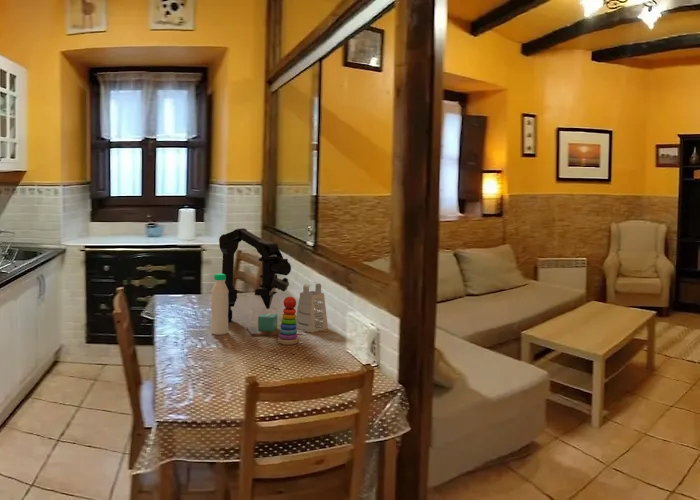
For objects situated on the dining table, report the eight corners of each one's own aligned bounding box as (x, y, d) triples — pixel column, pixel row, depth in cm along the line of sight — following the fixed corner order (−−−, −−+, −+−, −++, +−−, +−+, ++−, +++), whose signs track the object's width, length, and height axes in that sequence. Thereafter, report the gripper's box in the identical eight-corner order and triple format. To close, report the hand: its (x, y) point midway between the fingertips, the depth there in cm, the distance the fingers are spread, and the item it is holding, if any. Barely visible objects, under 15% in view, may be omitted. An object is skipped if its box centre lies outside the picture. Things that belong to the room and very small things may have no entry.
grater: (328, 328, 275) (329, 283, 272) (310, 332, 267) (311, 286, 265) (311, 324, 282) (312, 280, 279) (294, 327, 274) (295, 283, 272)
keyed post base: (251, 336, 257) (251, 324, 257) (246, 329, 268) (246, 317, 268) (289, 334, 263) (289, 322, 262) (282, 327, 274) (282, 316, 273)
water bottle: (231, 332, 262) (232, 273, 259) (221, 336, 256) (221, 276, 253) (217, 330, 265) (218, 272, 262) (207, 333, 259) (207, 274, 256)
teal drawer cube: (272, 331, 262) (273, 317, 261) (258, 330, 263) (258, 315, 262) (277, 328, 268) (277, 313, 267) (262, 327, 269) (263, 312, 269)
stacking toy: (282, 346, 244) (283, 299, 242) (275, 341, 251) (275, 295, 249) (300, 344, 248) (302, 297, 246) (293, 339, 255) (294, 294, 253)
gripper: (280, 277, 252) (280, 314, 254) (293, 270, 270) (292, 305, 272) (254, 275, 254) (254, 312, 256) (268, 269, 272) (267, 304, 274)
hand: (268, 308), depth 265 cm, fingers closed
